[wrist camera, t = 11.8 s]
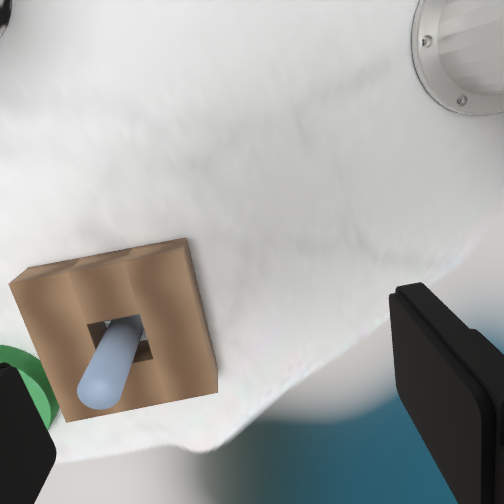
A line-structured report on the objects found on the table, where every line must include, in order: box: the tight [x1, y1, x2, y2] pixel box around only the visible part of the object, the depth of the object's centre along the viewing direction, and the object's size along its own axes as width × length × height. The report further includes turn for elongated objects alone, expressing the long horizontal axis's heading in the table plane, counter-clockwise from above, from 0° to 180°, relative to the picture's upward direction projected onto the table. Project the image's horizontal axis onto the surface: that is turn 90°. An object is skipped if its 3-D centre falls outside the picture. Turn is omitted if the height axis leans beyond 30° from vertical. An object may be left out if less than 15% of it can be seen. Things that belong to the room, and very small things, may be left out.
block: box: [9, 238, 218, 423], centre depth 36 cm, size 14×14×4 cm
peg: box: [77, 314, 144, 410], centre depth 33 cm, size 3×3×10 cm
